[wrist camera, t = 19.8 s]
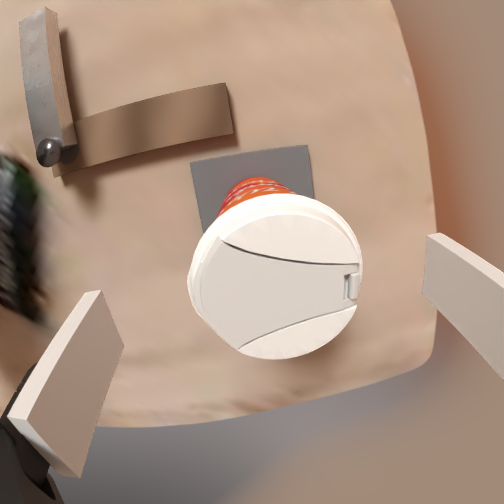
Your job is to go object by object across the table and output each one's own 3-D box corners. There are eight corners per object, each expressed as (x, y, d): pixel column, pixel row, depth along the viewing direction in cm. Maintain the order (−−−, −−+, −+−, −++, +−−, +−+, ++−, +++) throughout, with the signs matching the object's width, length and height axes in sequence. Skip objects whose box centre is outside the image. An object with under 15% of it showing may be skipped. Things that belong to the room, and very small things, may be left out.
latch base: (60, 175, 26) (54, 177, 25) (51, 132, 24) (45, 133, 23) (233, 133, 26) (233, 133, 25) (225, 84, 24) (225, 82, 23)
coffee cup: (302, 159, 26) (378, 194, 12) (305, 250, 29) (364, 354, 15) (202, 168, 26) (167, 212, 12) (214, 259, 29) (200, 374, 15)
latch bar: (81, 156, 24) (64, 160, 21) (55, 167, 24) (37, 172, 21) (57, 13, 18) (41, 4, 15) (32, 27, 18) (15, 21, 15)
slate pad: (212, 267, 30) (211, 271, 29) (190, 162, 26) (189, 162, 26) (316, 250, 30) (318, 253, 29) (305, 144, 26) (307, 144, 26)
